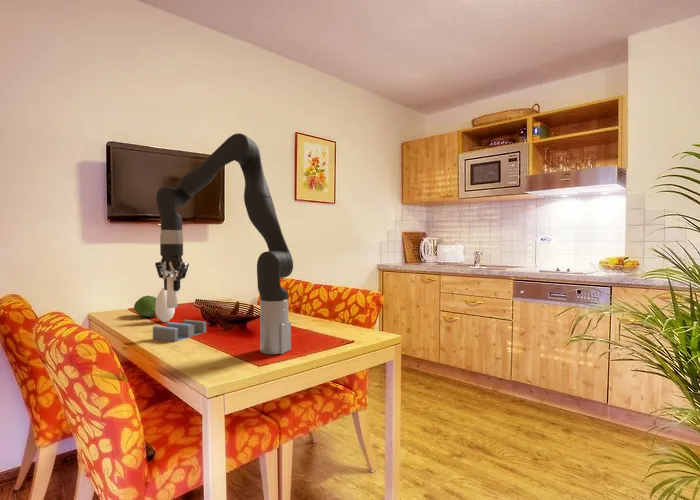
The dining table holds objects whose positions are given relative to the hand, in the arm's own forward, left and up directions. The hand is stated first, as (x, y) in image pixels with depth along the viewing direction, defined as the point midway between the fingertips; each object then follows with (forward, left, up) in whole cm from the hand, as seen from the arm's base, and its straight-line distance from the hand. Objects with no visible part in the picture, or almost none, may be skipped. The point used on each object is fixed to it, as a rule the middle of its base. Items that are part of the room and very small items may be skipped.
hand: (172, 290), depth 144 cm
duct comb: (0, -4, -18) cm, 19 cm away
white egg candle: (+27, -23, -19) cm, 40 cm away
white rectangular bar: (0, 0, -6) cm, 6 cm away
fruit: (+44, -29, -19) cm, 56 cm away
